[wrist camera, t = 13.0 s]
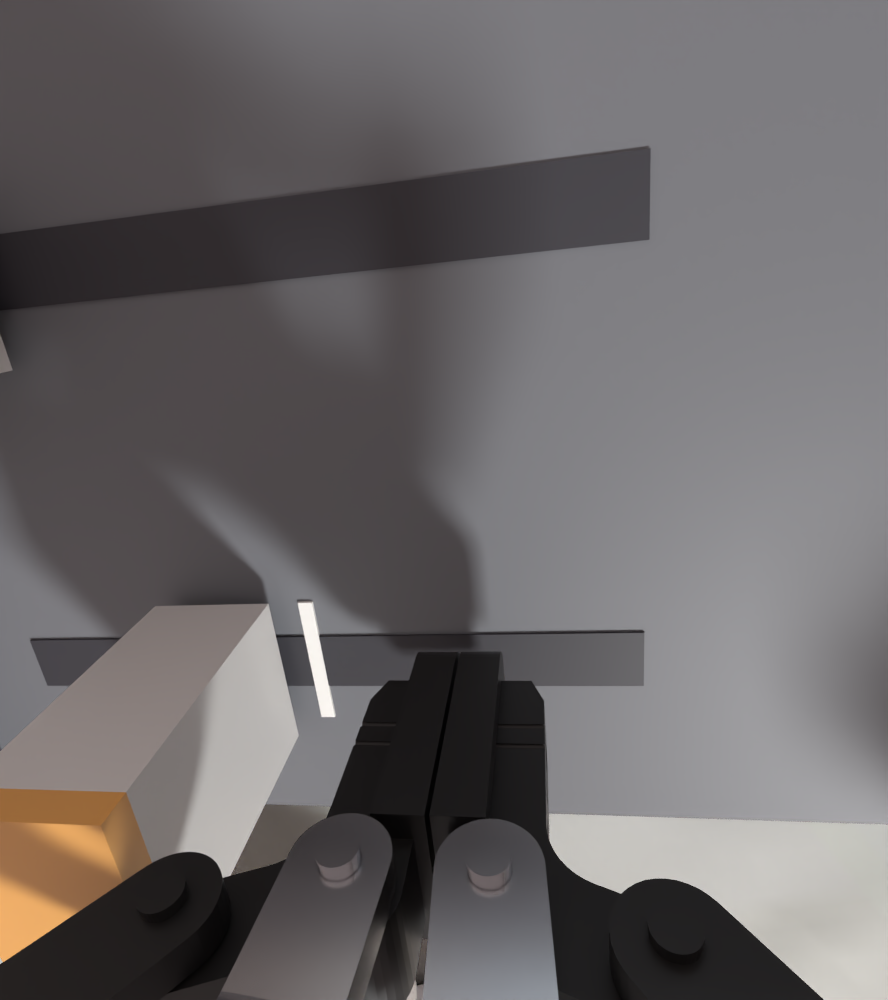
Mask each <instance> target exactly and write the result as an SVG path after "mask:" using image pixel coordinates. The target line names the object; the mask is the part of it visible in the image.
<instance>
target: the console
mask: <svg viewBox="0 0 888 1000" xmlns="http://www.w3.org/2000/svg"><path fill="white" fill-rule="evenodd" d="M0 335H1V338H2V341H3V343H4V346H5V349H6V352H7V355H8V358H9V361H10V364H11V367H12V371H8V372H3V373H0V751H1V750H2V749H3V748H4V747H5V746H6V745H7V744H8V743H10V742H11V741H12V740H13V739H14V738H15V737H16V736H17V735H18V734H19V733H20V732H21V731H22V730H23V729H24V728H26V727H27V726H28V725H29V724H30V723H31V722H32V721H33V720H34V719H35V718H36V717H37V716H38V715H39V714H40V713H42V712H43V711H44V710H45V709H46V708H47V707H48V706H49V705H50V704H51V703H52V702H53V701H54V700H55V699H57V698H58V697H59V696H60V695H61V694H62V693H63V692H64V691H65V690H66V689H67V688H68V687H69V686H70V685H71V684H73V683H74V682H75V681H76V680H77V679H78V678H79V677H80V676H81V675H82V674H83V673H84V672H85V671H86V670H87V669H89V668H90V667H91V666H92V665H93V664H94V663H95V662H96V661H97V660H98V659H99V658H100V657H101V656H102V655H104V654H105V653H106V652H107V651H108V650H109V649H110V648H111V647H112V646H113V645H114V644H115V643H116V642H117V641H118V640H120V639H121V638H122V637H123V636H124V635H125V634H126V633H127V632H128V631H129V630H130V629H131V628H132V627H133V626H135V625H136V624H137V623H138V622H139V621H140V620H141V619H142V618H143V617H144V616H145V615H146V614H147V613H148V612H149V611H151V610H152V609H153V608H154V607H155V606H182V605H227V604H269V608H270V613H271V617H272V621H273V626H274V630H275V634H276V639H277V643H278V647H279V652H280V656H281V660H282V665H283V669H284V673H285V678H286V682H287V687H288V691H289V695H290V700H291V704H292V708H293V713H294V717H295V721H296V726H297V730H298V734H299V736H298V738H297V740H296V742H295V744H294V746H293V748H292V750H291V752H290V755H289V757H288V759H287V761H286V763H285V765H284V767H283V769H282V771H281V773H280V775H279V777H278V779H277V781H276V783H275V785H274V787H273V790H272V792H271V794H270V796H269V798H268V800H267V802H266V804H275V805H306V806H331V805H332V802H333V800H334V797H335V794H336V792H337V789H338V786H339V783H340V781H341V778H342V775H343V773H344V770H345V767H346V764H347V762H348V759H349V756H350V754H351V751H352V748H353V746H354V745H355V740H356V737H357V735H358V732H359V729H360V727H361V726H362V721H363V718H364V716H365V713H366V710H367V708H368V705H369V702H370V700H371V699H372V697H373V696H374V695H375V694H376V693H377V692H378V691H379V690H380V689H381V688H382V687H383V686H384V685H385V684H386V683H387V682H388V681H389V680H409V679H410V675H411V672H412V668H413V665H414V662H415V658H416V655H417V653H418V652H459V654H460V653H461V652H472V651H501V652H502V655H503V665H504V677H505V681H532V682H533V684H534V685H535V687H536V689H537V690H538V692H539V693H540V695H541V697H542V698H543V700H544V707H545V726H546V745H547V764H548V803H549V813H552V814H583V815H613V816H644V817H675V818H706V819H736V820H767V821H798V822H829V823H859V824H888V0H0Z"/></svg>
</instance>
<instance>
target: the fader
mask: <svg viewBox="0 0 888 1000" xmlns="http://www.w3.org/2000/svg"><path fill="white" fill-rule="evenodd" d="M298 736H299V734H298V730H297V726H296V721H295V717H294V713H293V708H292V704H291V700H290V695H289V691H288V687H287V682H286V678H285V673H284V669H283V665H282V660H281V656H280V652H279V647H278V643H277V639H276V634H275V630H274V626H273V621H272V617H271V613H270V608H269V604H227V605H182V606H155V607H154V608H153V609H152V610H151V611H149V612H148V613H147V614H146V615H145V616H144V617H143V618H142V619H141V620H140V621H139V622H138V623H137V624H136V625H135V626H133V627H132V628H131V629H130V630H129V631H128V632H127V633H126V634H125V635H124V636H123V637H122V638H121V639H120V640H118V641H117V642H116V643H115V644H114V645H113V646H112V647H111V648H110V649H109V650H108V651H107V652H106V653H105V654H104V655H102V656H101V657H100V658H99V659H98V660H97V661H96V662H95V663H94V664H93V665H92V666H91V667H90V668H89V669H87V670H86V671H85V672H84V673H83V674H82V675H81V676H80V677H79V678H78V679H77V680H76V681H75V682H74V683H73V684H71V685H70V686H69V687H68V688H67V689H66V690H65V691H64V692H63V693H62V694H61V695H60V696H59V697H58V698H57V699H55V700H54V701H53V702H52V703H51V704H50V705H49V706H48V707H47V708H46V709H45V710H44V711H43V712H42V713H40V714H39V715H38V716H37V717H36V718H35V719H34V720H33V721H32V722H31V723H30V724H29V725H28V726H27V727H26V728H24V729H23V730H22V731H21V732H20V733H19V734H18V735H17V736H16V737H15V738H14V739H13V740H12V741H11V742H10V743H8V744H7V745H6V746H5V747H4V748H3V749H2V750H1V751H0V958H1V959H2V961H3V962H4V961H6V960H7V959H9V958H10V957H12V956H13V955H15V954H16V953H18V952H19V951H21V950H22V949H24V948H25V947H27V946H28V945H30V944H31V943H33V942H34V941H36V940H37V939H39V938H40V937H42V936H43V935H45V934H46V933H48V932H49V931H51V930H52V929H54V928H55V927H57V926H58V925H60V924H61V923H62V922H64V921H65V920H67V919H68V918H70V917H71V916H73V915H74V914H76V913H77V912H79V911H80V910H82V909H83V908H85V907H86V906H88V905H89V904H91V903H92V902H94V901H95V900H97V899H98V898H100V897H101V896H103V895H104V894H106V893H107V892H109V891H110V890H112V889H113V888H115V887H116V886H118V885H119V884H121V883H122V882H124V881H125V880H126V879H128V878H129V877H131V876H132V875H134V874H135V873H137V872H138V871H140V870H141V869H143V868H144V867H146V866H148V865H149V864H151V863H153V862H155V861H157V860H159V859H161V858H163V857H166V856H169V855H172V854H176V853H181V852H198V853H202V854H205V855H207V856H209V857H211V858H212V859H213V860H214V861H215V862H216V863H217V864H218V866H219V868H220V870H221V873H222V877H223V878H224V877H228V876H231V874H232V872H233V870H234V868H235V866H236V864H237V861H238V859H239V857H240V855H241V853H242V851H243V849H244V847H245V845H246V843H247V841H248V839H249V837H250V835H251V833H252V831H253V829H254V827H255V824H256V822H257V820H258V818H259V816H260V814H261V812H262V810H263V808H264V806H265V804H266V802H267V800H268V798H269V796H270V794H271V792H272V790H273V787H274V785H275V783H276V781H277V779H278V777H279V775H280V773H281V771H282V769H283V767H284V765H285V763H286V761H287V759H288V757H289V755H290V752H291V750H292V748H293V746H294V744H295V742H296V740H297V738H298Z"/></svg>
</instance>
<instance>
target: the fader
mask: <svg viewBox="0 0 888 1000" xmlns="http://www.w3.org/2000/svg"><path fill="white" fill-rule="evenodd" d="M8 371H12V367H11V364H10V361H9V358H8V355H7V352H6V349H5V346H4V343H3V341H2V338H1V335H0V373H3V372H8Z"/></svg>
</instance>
